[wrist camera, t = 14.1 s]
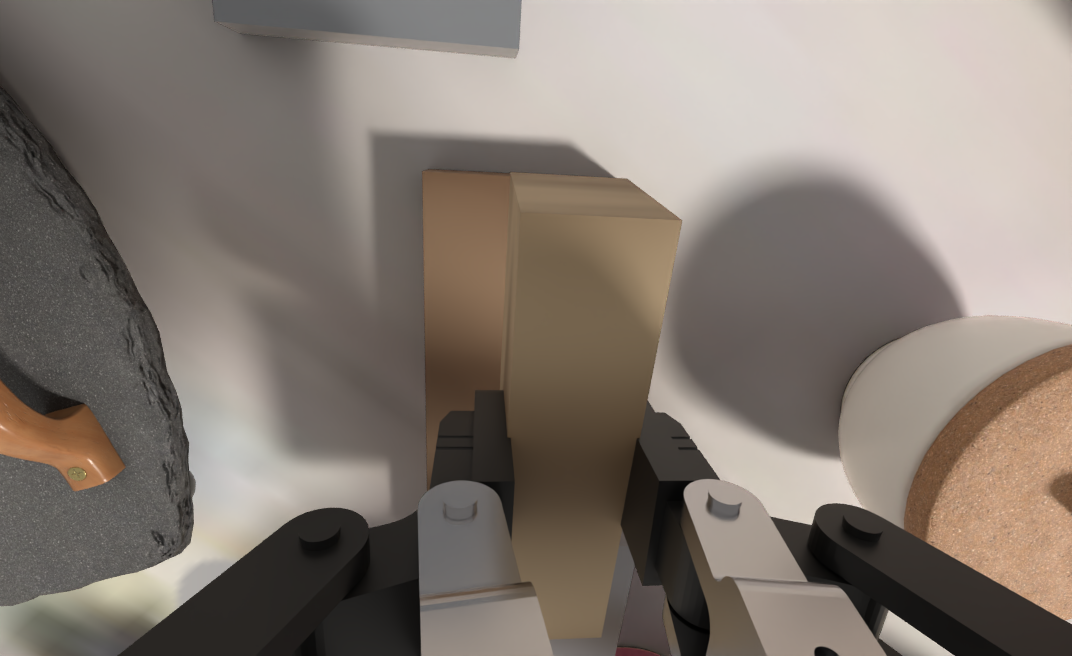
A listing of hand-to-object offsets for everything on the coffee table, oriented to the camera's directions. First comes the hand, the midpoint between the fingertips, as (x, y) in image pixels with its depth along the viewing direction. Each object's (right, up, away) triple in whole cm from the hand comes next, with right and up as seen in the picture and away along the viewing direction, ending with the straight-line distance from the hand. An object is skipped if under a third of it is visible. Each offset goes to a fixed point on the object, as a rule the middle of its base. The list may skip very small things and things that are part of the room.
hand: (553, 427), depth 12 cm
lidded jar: (+17, -1, +12) cm, 21 cm away
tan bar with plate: (0, -2, +2) cm, 3 cm away
